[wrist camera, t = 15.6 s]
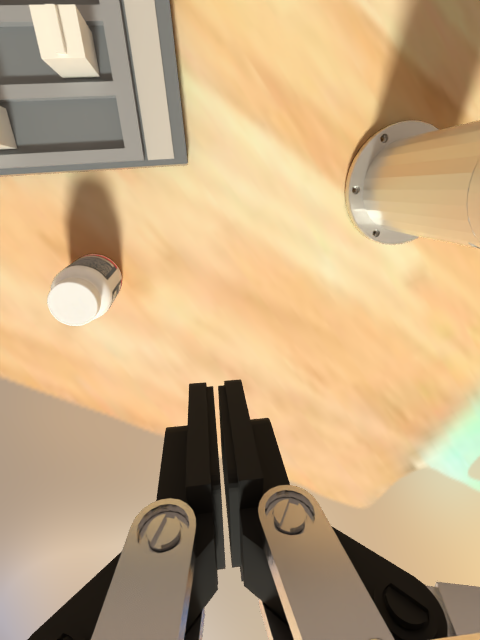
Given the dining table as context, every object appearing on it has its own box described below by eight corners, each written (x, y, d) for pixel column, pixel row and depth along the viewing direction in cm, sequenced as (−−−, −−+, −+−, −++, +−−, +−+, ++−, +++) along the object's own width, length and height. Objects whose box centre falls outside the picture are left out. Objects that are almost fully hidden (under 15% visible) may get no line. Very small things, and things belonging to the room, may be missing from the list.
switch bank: (161, -65, 27) (159, -92, 25) (187, 165, 33) (187, 162, 31) (-172, -71, 24) (-215, -102, 22) (-75, 181, 31) (-99, 180, 28)
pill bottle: (63, 260, 35) (26, 281, 27) (112, 248, 35) (90, 265, 27) (83, 306, 37) (54, 339, 29) (129, 294, 37) (114, 323, 29)
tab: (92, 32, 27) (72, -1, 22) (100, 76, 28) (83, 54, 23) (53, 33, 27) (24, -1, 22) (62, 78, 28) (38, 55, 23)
